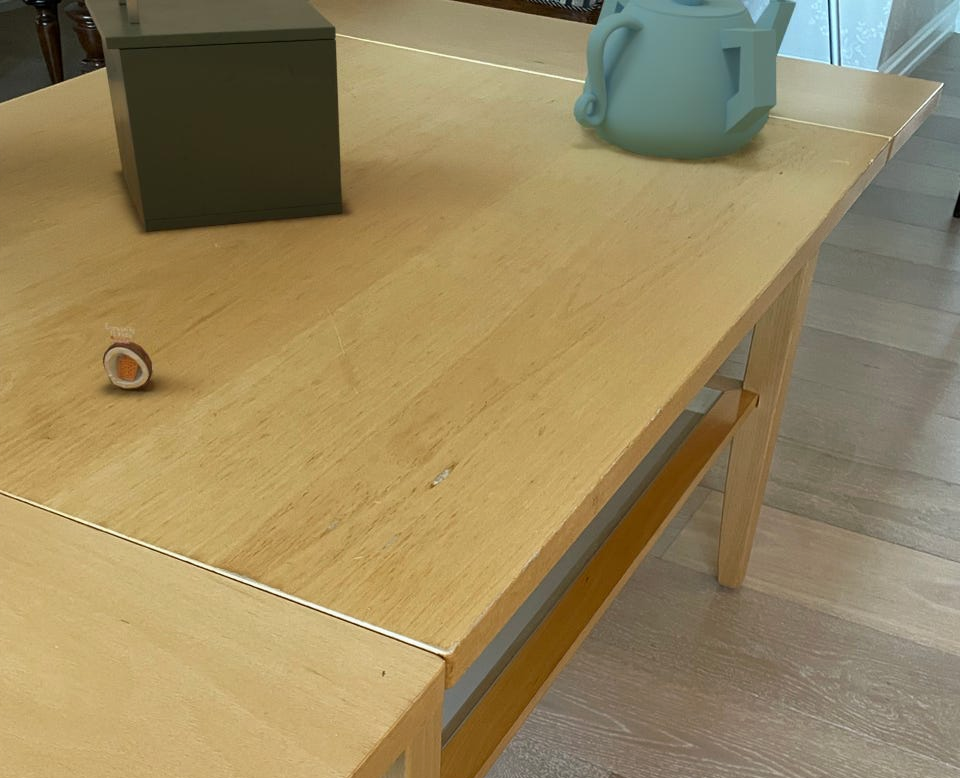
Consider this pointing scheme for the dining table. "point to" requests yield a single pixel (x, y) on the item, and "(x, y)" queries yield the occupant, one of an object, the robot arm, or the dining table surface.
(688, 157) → the teapot
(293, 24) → the bin lid
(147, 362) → the chocolate
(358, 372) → the dining table surface
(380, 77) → the dining table surface
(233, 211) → the trash bin
